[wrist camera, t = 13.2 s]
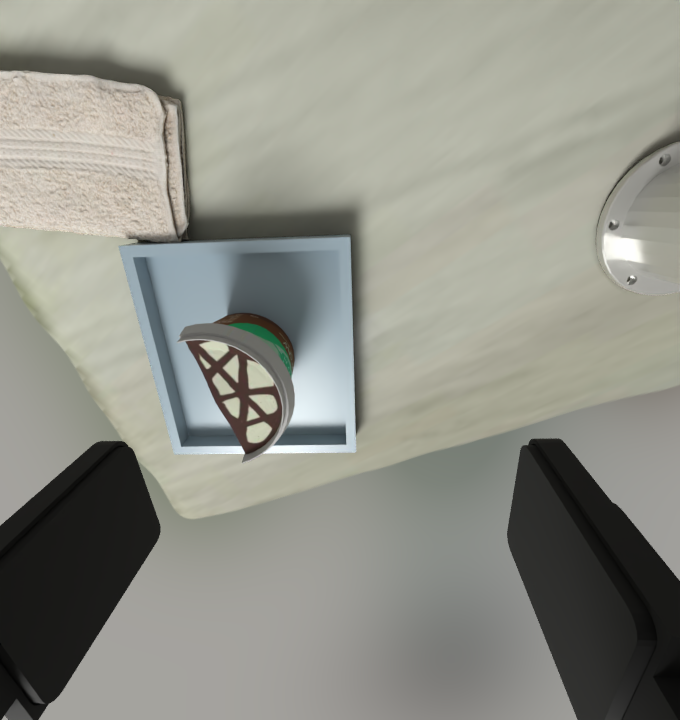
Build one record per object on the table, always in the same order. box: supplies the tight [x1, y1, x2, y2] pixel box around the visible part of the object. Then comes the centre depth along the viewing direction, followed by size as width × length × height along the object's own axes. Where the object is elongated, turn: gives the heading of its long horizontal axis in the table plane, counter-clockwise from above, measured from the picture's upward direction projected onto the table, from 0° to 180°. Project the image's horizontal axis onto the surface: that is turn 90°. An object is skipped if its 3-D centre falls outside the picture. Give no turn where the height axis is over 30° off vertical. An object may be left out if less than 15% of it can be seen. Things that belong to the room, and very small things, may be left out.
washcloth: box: [0, 70, 190, 243], centre depth 31 cm, size 12×18×3 cm, turn 86°
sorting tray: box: [119, 234, 356, 454], centre depth 36 cm, size 20×22×3 cm
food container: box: [177, 313, 295, 463], centre depth 32 cm, size 12×6×10 cm, turn 19°
